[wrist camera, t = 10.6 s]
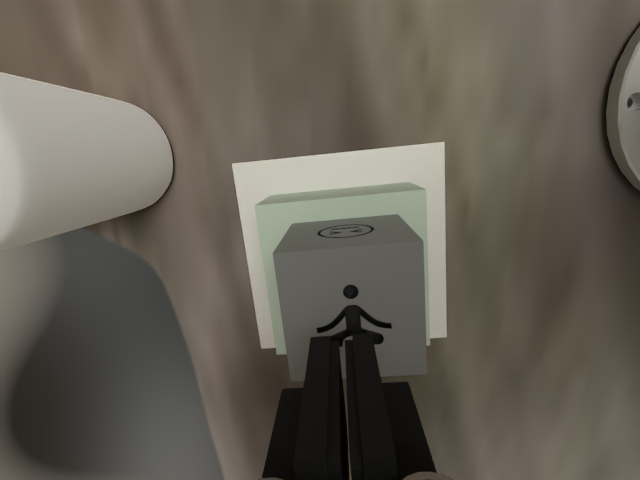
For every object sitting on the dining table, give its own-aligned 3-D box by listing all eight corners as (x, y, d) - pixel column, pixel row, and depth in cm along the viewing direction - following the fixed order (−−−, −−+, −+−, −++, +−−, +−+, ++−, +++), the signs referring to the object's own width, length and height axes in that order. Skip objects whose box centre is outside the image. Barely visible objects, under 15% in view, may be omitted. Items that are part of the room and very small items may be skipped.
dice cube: (303, 318, 18) (290, 381, 13) (292, 223, 16) (272, 253, 12) (402, 311, 17) (427, 374, 12) (397, 213, 16) (423, 240, 11)
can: (174, 218, 22) (-15, 294, 10) (74, 201, 22) (-228, 259, 10) (179, 110, 20) (-40, 52, 8) (70, 92, 20) (-295, 12, 8)
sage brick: (408, 181, 20) (426, 189, 16) (413, 310, 22) (430, 345, 18) (270, 195, 20) (254, 205, 16) (287, 319, 22) (276, 354, 18)
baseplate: (440, 142, 20) (444, 141, 19) (442, 330, 23) (446, 337, 22) (235, 163, 21) (231, 163, 20) (263, 342, 24) (261, 348, 23)
